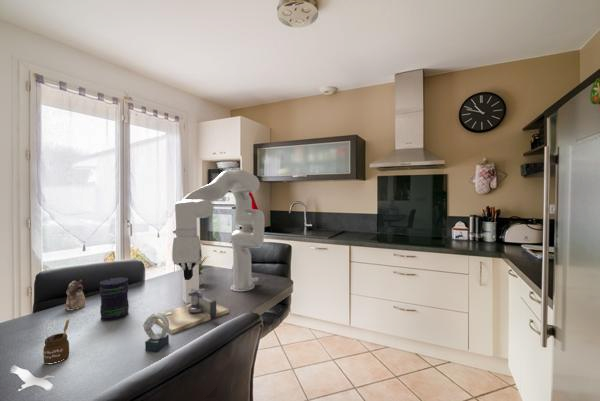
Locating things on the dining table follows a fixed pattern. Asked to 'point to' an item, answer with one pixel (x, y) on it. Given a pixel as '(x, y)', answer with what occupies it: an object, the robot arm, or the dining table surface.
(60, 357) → the brown rounded container
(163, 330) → the white ring on base
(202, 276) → the house plant
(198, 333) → the dining table surface
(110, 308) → the storage jar
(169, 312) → the cutting board
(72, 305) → the figurine
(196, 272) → the milk
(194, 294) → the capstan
